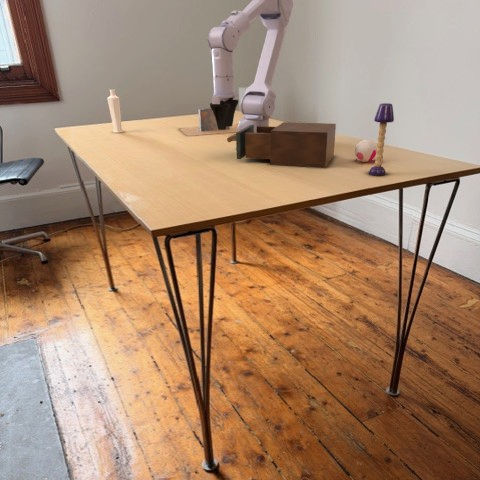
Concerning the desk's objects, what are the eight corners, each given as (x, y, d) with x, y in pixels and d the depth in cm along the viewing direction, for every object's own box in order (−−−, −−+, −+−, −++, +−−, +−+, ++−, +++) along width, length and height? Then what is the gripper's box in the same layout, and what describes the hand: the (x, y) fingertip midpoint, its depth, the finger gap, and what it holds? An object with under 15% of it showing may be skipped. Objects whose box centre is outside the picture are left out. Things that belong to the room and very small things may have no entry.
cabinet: (270, 164, 137) (270, 130, 132) (282, 153, 148) (283, 122, 144) (325, 167, 132) (327, 132, 128) (333, 156, 144) (335, 123, 139)
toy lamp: (366, 171, 128) (374, 102, 119) (384, 171, 128) (393, 102, 119) (370, 175, 124) (378, 105, 115) (388, 175, 123) (398, 104, 115)
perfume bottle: (127, 131, 190) (121, 89, 182) (119, 133, 186) (112, 90, 179) (118, 130, 192) (112, 88, 184) (110, 132, 189) (104, 89, 181)
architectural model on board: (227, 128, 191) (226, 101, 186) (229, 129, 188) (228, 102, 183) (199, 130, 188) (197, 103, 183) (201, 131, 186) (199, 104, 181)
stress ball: (368, 176, 136) (384, 157, 131) (346, 158, 135) (361, 138, 131) (372, 169, 142) (388, 150, 137) (351, 151, 141) (366, 132, 137)
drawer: (223, 158, 141) (222, 132, 137) (237, 149, 151) (237, 124, 148) (285, 161, 135) (286, 134, 132) (296, 151, 146) (297, 126, 143)
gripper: (228, 78, 129) (230, 132, 136) (244, 74, 141) (245, 124, 147) (204, 78, 131) (206, 131, 138) (222, 74, 142) (223, 123, 149)
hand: (225, 127), depth 143 cm, fingers open, 5 cm apart
